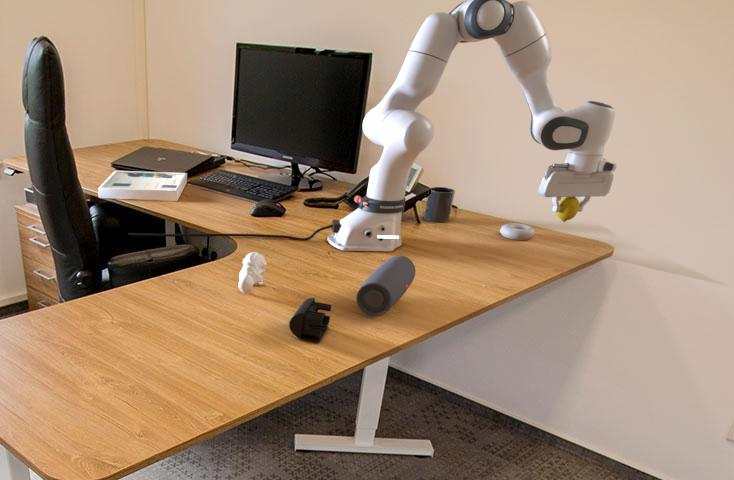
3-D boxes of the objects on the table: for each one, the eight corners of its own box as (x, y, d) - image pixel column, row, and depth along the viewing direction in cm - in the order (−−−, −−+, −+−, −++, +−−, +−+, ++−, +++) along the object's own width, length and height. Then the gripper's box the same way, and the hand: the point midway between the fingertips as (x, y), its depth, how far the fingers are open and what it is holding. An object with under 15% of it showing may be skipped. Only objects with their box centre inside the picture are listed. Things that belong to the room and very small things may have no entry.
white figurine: (268, 251, 181) (256, 269, 172) (266, 280, 186) (255, 300, 177) (245, 248, 183) (232, 266, 174) (244, 277, 188) (231, 296, 179)
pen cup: (430, 223, 233) (436, 193, 227) (419, 216, 239) (425, 187, 234) (452, 222, 233) (459, 192, 228) (441, 215, 240) (447, 186, 235)
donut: (538, 242, 214) (526, 232, 223) (541, 231, 213) (529, 221, 221) (504, 241, 215) (494, 231, 224) (507, 230, 213) (497, 221, 222)
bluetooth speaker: (389, 324, 161) (397, 284, 156) (351, 316, 166) (357, 277, 160) (414, 293, 178) (421, 256, 173) (378, 287, 182) (384, 250, 177)
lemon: (572, 220, 207) (580, 193, 202) (575, 225, 202) (584, 198, 198) (551, 218, 208) (560, 191, 204) (554, 223, 204) (563, 196, 199)
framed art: (187, 172, 283) (177, 190, 257) (186, 182, 285) (177, 201, 259) (115, 170, 287) (98, 188, 261) (115, 179, 289) (98, 198, 263)
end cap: (299, 322, 163) (302, 295, 159) (328, 327, 160) (332, 300, 157) (287, 338, 155) (290, 310, 152) (318, 344, 153) (321, 316, 149)
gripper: (555, 165, 193) (540, 215, 200) (622, 165, 195) (605, 213, 202) (541, 161, 198) (527, 209, 205) (607, 160, 200) (591, 208, 207)
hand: (566, 211), depth 203 cm, fingers closed on lemon, 5 cm apart
